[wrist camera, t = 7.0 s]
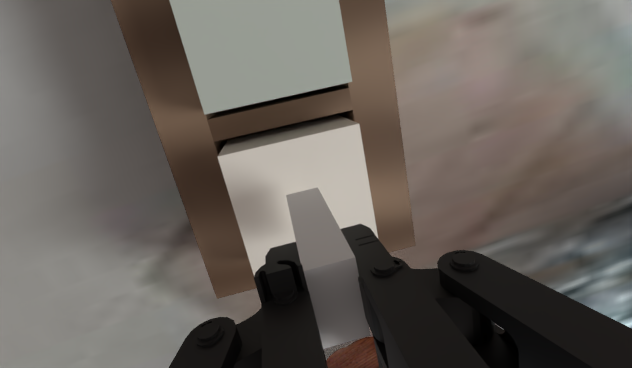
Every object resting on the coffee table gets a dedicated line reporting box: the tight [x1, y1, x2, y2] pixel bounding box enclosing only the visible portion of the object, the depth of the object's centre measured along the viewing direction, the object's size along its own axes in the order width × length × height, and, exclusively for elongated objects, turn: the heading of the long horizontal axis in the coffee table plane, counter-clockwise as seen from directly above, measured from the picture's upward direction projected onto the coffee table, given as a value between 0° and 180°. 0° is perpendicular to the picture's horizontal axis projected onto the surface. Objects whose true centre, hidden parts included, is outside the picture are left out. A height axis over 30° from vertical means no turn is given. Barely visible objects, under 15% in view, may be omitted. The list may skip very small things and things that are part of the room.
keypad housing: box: [111, 0, 415, 299], centre depth 20 cm, size 29×13×7 cm, turn 12°
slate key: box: [169, 0, 352, 115], centre depth 17 cm, size 7×7×5 cm
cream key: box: [218, 115, 378, 275], centre depth 20 cm, size 7×7×5 cm
